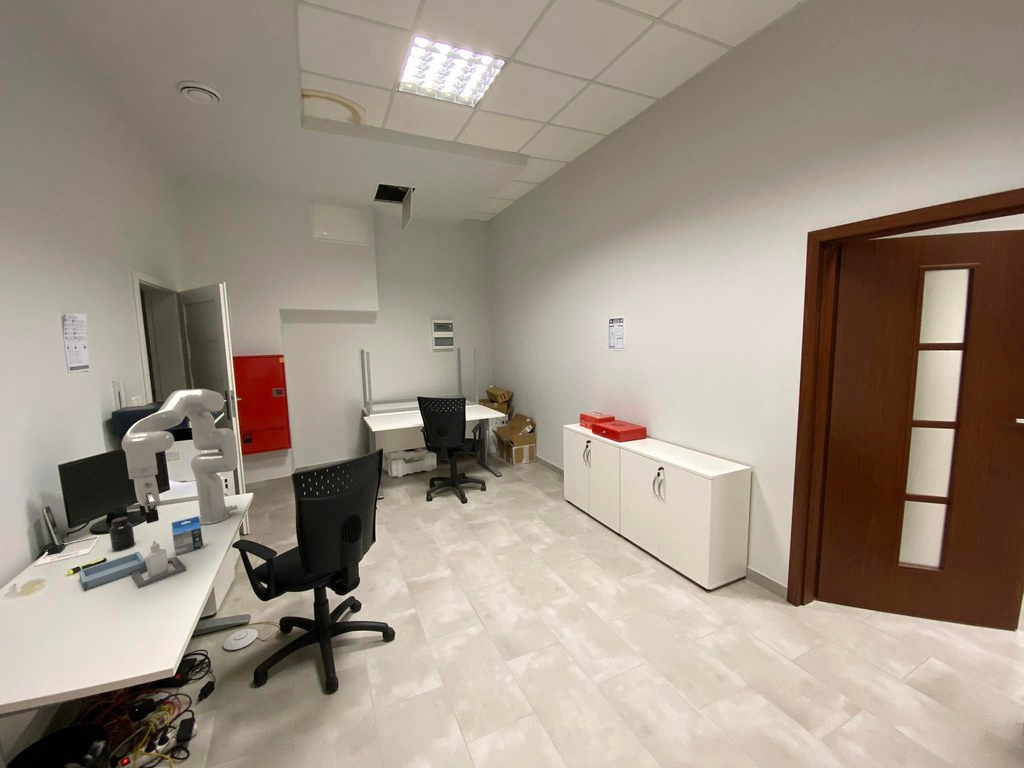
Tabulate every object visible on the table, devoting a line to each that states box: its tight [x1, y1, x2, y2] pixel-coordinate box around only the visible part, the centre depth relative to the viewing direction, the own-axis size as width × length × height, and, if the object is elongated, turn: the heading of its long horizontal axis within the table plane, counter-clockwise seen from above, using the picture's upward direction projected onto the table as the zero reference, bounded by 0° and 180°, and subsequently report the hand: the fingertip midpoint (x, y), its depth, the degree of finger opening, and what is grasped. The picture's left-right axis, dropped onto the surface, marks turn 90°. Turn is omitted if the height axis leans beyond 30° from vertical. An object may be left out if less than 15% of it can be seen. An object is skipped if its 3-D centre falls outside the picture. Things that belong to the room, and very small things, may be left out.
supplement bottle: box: [108, 516, 136, 552], centre depth 166 cm, size 7×7×12 cm
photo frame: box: [33, 535, 101, 568], centre depth 165 cm, size 15×1×18 cm
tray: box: [78, 551, 147, 592], centre depth 147 cm, size 16×12×3 cm
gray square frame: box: [130, 555, 187, 589], centre depth 147 cm, size 13×13×1 cm
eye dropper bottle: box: [145, 540, 169, 578], centre depth 146 cm, size 4×6×12 cm
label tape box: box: [171, 516, 204, 556], centre depth 162 cm, size 9×4×12 cm, turn 130°
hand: (149, 518), depth 144 cm, fingers open, 9 cm apart
